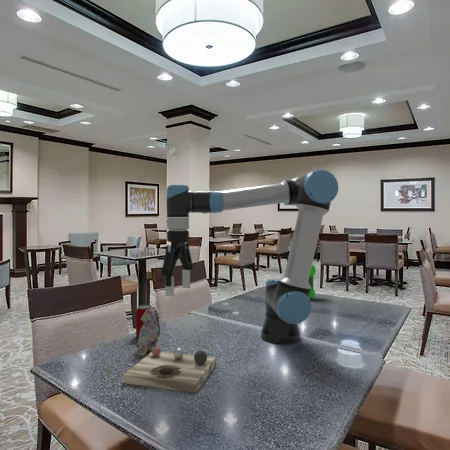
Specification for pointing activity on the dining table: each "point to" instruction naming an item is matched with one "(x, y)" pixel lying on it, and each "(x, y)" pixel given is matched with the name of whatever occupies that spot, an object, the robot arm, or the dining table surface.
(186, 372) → the board
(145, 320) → the figurine
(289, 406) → the dining table surface
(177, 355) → the steel ball
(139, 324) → the beverage can
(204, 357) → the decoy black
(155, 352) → the pink rubber ball
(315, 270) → the plastic bottle
